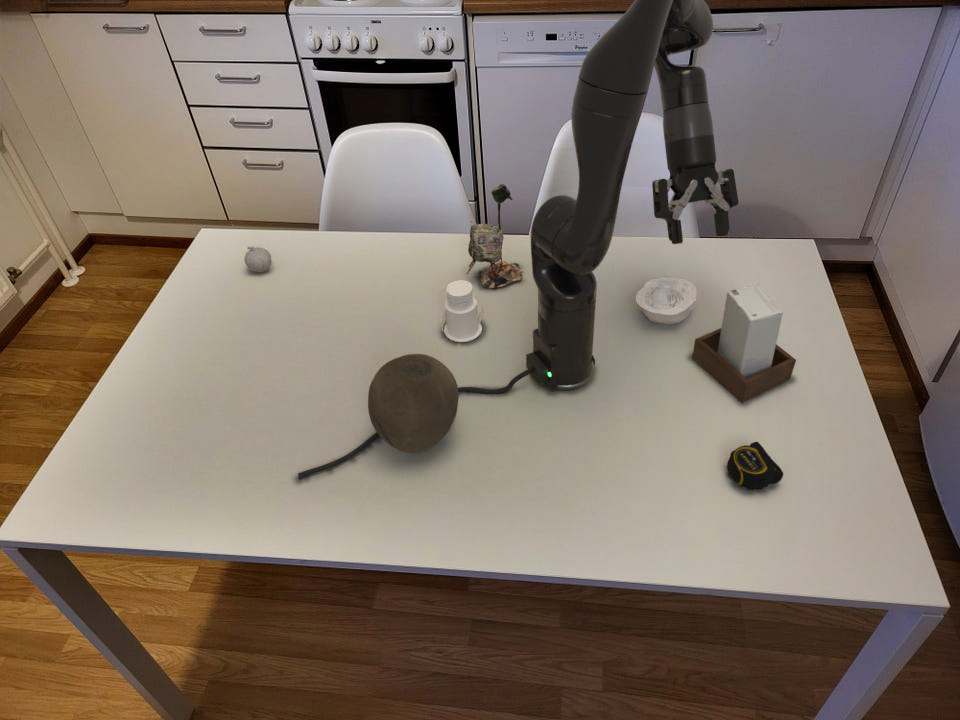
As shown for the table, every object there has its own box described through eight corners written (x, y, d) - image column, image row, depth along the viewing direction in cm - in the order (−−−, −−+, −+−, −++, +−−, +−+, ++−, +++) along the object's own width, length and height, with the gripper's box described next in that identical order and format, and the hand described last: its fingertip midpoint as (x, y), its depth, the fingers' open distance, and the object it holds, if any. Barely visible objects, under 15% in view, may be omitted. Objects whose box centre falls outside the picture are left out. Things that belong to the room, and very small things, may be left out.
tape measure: (781, 486, 114) (787, 470, 111) (741, 499, 113) (745, 484, 110) (756, 453, 119) (761, 437, 116) (716, 465, 117) (720, 449, 115)
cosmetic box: (768, 381, 130) (787, 313, 119) (734, 388, 129) (751, 321, 119) (744, 349, 136) (761, 282, 125) (712, 355, 135) (726, 288, 125)
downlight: (477, 314, 147) (474, 271, 140) (489, 337, 142) (487, 294, 135) (437, 324, 145) (432, 282, 138) (448, 347, 140) (443, 305, 133)
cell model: (707, 316, 143) (713, 287, 138) (659, 342, 138) (664, 313, 133) (668, 289, 149) (672, 260, 144) (621, 314, 144) (624, 285, 140)
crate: (741, 403, 126) (747, 383, 123) (691, 358, 135) (695, 339, 132) (790, 379, 130) (796, 359, 127) (738, 337, 138) (742, 317, 135)
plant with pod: (468, 265, 158) (461, 179, 144) (523, 264, 157) (521, 177, 143) (466, 290, 152) (458, 202, 138) (523, 289, 151) (521, 201, 138)
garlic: (241, 268, 161) (235, 247, 158) (264, 257, 164) (258, 236, 160) (256, 280, 158) (250, 259, 155) (279, 268, 161) (273, 248, 157)
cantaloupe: (468, 460, 121) (462, 394, 110) (378, 475, 119) (363, 409, 109) (455, 397, 131) (448, 330, 121) (372, 410, 130) (358, 344, 119)
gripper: (662, 138, 116) (675, 245, 119) (741, 128, 121) (751, 231, 123) (637, 146, 123) (649, 247, 126) (712, 136, 128) (722, 234, 130)
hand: (700, 239), depth 125 cm, fingers open, 8 cm apart
